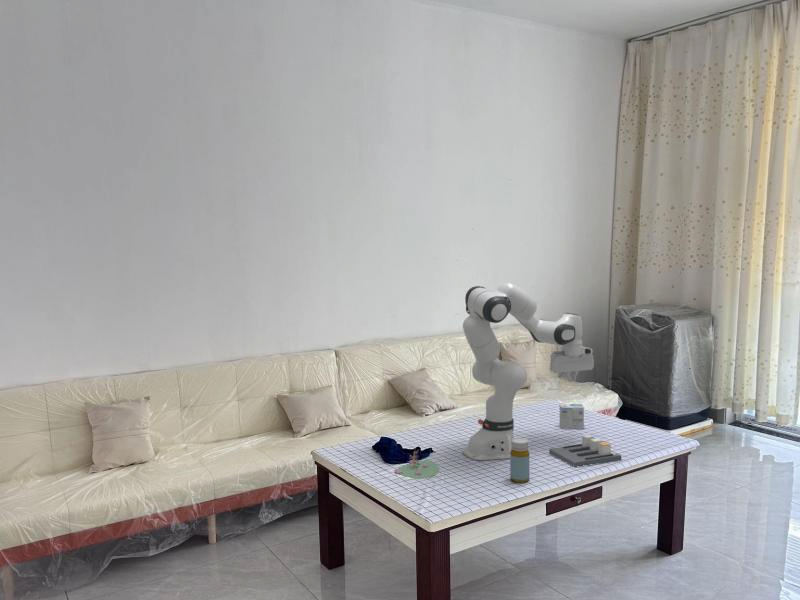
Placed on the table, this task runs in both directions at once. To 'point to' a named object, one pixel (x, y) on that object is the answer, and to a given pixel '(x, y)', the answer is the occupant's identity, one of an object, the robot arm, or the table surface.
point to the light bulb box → (571, 416)
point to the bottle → (519, 460)
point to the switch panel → (583, 453)
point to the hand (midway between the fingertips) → (571, 381)
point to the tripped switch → (604, 448)
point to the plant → (418, 469)
